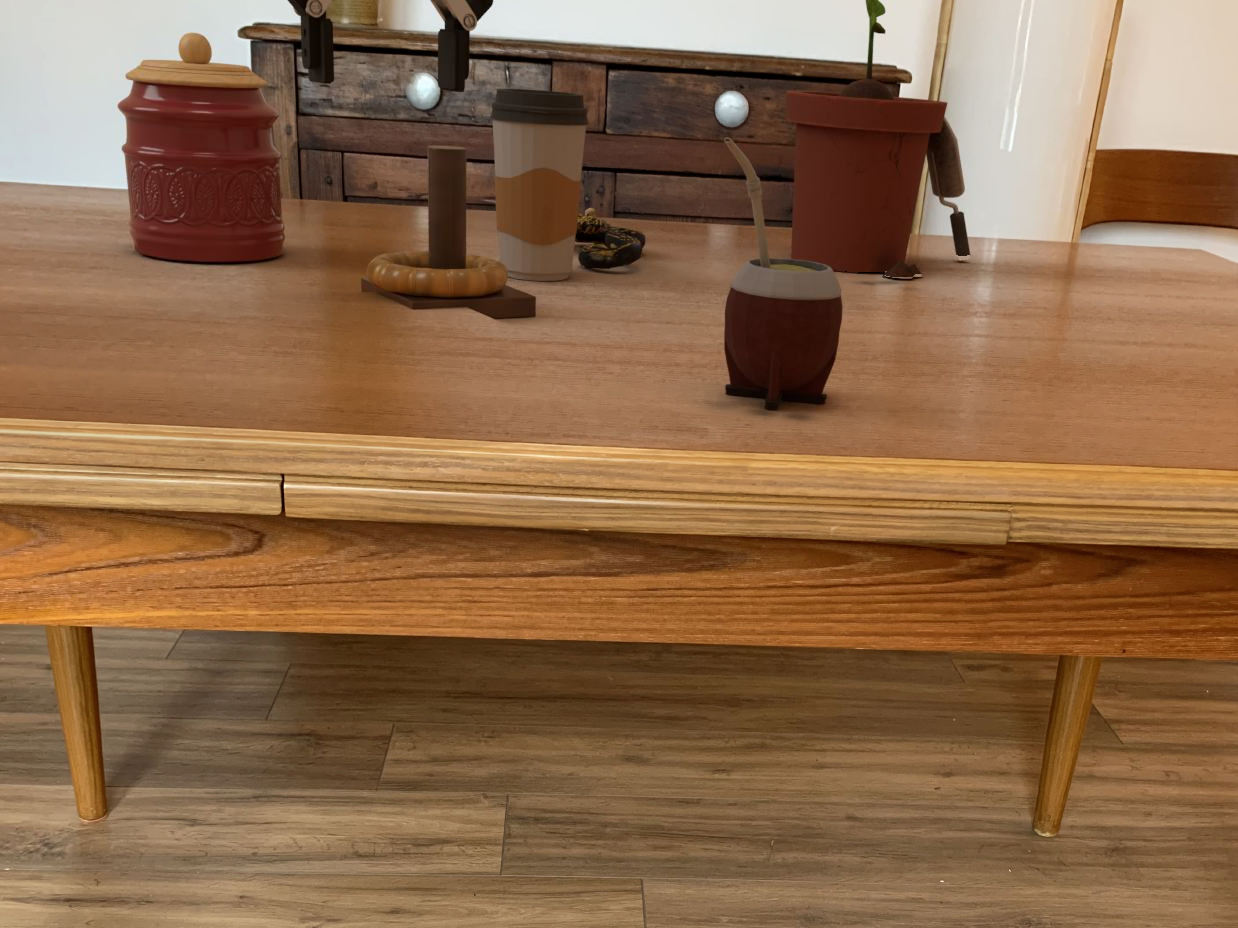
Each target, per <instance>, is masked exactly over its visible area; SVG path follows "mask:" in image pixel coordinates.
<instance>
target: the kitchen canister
mask: <svg viewBox="0 0 1238 928" xmlns="http://www.w3.org/2000/svg"><path fill="white" fill-rule="evenodd" d="M178 54H179V57H180V60H176V59H175V60H173V59H172V60H171V59H143V60H142V61H141V62H140V64H139V65H137V66H136V67H135V68H133V69H131V70H130V71H127V72H126V73H125V76H124V77H125V79H126V80H128V81H132V85H131V88H130V89H131V90H130V92H129V94H128V95H127V96H126V97H124V98H123V99H121V100H120V101H119V102H118V103H117V109H118V110H119V111H120V112H121V113H122V115H123V116H124V118H125V127H126V139H125V143H124V144H123V145H121V151H122V153H123V155H124V162H125V163H124V164H125V173H126V183H127V184H126V185H127V194H128V203H129V205H128V206H129V215H130V216H129V220H128V226H129V228H130V230H129V235H130V237H131V239H132V242H133V247H134V250H135V252H137V253H139V254H142V255H144V256H148V257H153V258H158V259H163V260H164V259H165V260H172V261H181V262H196V263H240V262H241V263H243V262H255V261H263V260H269V259H273V258H277V257H279V256H281V255H282V254H283V252H284V243H285V240H286V234H285V228H286V227H285V224H284V221H283V211H282V210H283V209H282V192H281V188H282V187H281V172H280V160H281V159H282V154H281V152H280V151H279V150H278V149H277V147H276V143H275V136H274V124H275V122H276V121H277V120H278V119H279V116H280V114H279V111H278V110H277V109H275V107H273V106H272V105H270V104H269V103H268V102H267V101H266V99H265V97H264V94H263V92H262V89H263V88H267V87H268V82H267V81H266V80H265V79H263V78H261V77H260V76H259V75H257V74H256V73H255V72H253V71H252V69H251V68H250V67H249V66H247V65H241V64H233V63H222V62H210V61H211V60H212V55H213V51H212V46H211V44H210V41H209V39H207V37H206V36H205V35H203V34H201V33H197V32H188V33H187V32H186V33H185V34H183V35H182V37H181V38H180V39H179V42H178Z"/></svg>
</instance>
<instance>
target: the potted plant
mask: <svg viewBox="0 0 1238 928" xmlns="http://www.w3.org/2000/svg"><path fill="white" fill-rule="evenodd" d="M865 6H866V13H867V15H868V19H869V21H868V22H869V23H868V25H869V27H868V28H869V29H868V50H867V61H866V62H867V64H866V76H865V78H862V79H859V80H855V81H851V82H850V83H849V84H847V86H846V87H845V88H843V89H842V90H841V91H840V92H835V91H834V92H833V91H813V90H786V91H785V116H786V117H785V120H786V121H787V122H790V123H795V126H796V127H795V145H794V147H795V148H794V170H793V171H794V173H793V197H792V227H791V249H790V250H791V251H790V259H794V260H803V261H810V262H816V263H820V264H824V265H826V266H829V267H830V268H831V269H832V270H833V272H841V273H842V272H843V273H855V274H856V273H857V274H858V272H885V271H887V272H886V273H882V275H886V276H890V277H913V276H914V275H915V274H922V275H923V273H922V271H920V269H919V268H918V266H917V264H916V263H913V264H911V265H909V264H907V263H906V258H907V252H908V248H909V242H910V238H911V232H912V229H913V223H914V216H915V212H916V206H917V202H918V197H919V191H920V187H921V181H922V176H923V171H924V165H925V161H926V162H927V168H928V173H929V180H930V184H931V191H932V194H933V195H934V196H935V197H938V199H939V203H940V204H941V205H943V206H944V207H948V208H951V209H952V210H953V212H952V213H951V214H950V215H949V220H950V221H949V222H950V227H951V233H952V239H953V245H954V251H955V256H956V255H958V256H967V255H970V256H971V250H970V243H969V237H968V232H967V225H966V219H965V213H964V212H963V211H961V210H960V211H959V207H958V205H957V204H956V203H955V202H952V201H948V200H945V199H955V198H959V197H961V196H963V195H964V193H965V190H966V188H965V187H966V186H965V180H964V174H963V173H964V172H963V167H962V160H961V155H960V149H959V143H958V139H957V136H956V134H955V132H954V131H953V128H952V127H951V125H950V123H949V121H948V120H947V118H946V116H945V115H946V112H947V108H948V107H947V106H948V102H947V101H940V100H933V99H923V98H912V97H903V96H902V97H900V96H894V95H893V93H892V92H891V91H890V89H889V88H888V87H887V86H886V84H885V83H883V82H881V81H878V80H875V79H873V63H874V62H873V61H874V37H875V34H883V35H884V34H886V29H885V28H884V27H883V25H882V24H881V23H880V22H878V21H877V19H878V18H879V17H881V16H883V15H885V14H886V7H885V5H884V3H882V2H881V1H880V0H865ZM958 262H960V263H961V261H958ZM835 270H836V271H835ZM845 271H847V272H845ZM890 279H892V278H890ZM892 280H893V279H892Z"/></svg>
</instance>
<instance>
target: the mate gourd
mask: <svg viewBox="0 0 1238 928" xmlns="http://www.w3.org/2000/svg"><path fill="white" fill-rule="evenodd" d="M723 141H724V144H725V145H726V147H727V148H728V149H729V151H730V152H731V153H732V156H734V158H735V159H736V160H737V162H738V164H739V165H740V167H741V169H742V171H743V173H744V175H745V178H746V181H745V185H746V189H747V196H748V198H750V200H751V205H752V206H751V208H752V214H753V221H754V229H755V236H756V243H757V250H758V251H757V252H758V258H752V259H751V258H750V259H748V260H747V261H745V262H744V264H743V265H742V266H741V268H740V269H739V271H738V272H737V273H736V274H735V276H734V277H733V279H732V280H731V283H730V289H729V291H728V294H727V297H726V302H725V308H724V333H723V335H724V340H723V341H724V342H723V345H724V347H723V349H724V356H725V362H726V366H727V371H728V378H729V383H727V384H725V385H724V388H725V394H726V395H730V396H739V397H740V396H741V397H751V398H759V399H764V400H765V402H764V409H765V410H773V411H774V410H775V411H777V410H778V409H779V407H780V405H781V403H782V401H787V402H797V403H810V404H819V405H825V404H826V401H827V397H828V394H827V393H823V392H824V389H825V387H826V384H827V382H828V379H829V378H830V375H831V373H832V370H833V367H834V365H835V362H836V358H837V353H838V347H839V343H840V332H841V326H842V321H843V299H842V287H841V284H840V282H839V279H838V277H837V275H836V273H835V271H833V270H832V269H831V268H830V267H829V266H826V265H824V264H820V263H816V262H810V261H803V260H794V259H791V258H781V257H779V258H778V257H777V258H776V257H770V255H769V254H770V253H769V248H768V240H767V234H766V225H765V218H764V209H763V202H762V195H763V193H764V192H763V188H762V186H761V185H762V183H761V179H760V177H759V176H757V173H756V170H755V169H754V166H753V165H752V163H751V161H750V160H749V158H748V157H747V156H746V155H745V153H744V152H743V151H742V150H741V149H740V148H739V146H738V145H737V144H736V143H735V142H734V141H733V139H731V138H730V137H729V136H727V137H725V138H723Z"/></svg>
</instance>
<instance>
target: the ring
mask: <svg viewBox="0 0 1238 928" xmlns="http://www.w3.org/2000/svg"><path fill="white" fill-rule="evenodd" d="M365 271H366V278H368V279H369V281H370V282H371V283H372V284H373V285H375V286H378V287H380V288H382V289H384V290H386V291H389V292H394V293H400V294H406V295H412V296H423V297H441V298H459V297H479V296H484V295H488V294H493V293H497V292H499V291H501V290H502V289H503V288H504V287H505V285H506V284H507V281H508V278H509V277H508V271H507V269H506V267H505V266H504V265H503V264H502V263H501V262H500V261H498V260H495V259H492V258H489V257H487V256H483V255H477V254H470V253H466V269H431V268H429V250H414V251H413V250H412V251H410V250H409V251H395V252H388V253H382V254H378V255H377V256H375V257H374V258H373V259H372V260H371V261H370V262H369V263H368V264H367V267H366V270H365Z"/></svg>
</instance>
